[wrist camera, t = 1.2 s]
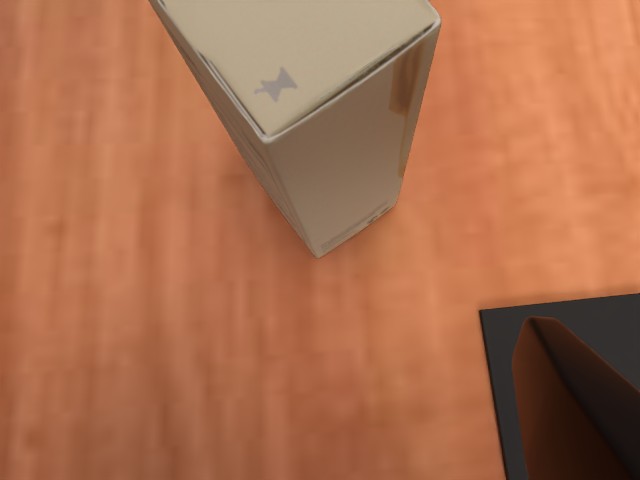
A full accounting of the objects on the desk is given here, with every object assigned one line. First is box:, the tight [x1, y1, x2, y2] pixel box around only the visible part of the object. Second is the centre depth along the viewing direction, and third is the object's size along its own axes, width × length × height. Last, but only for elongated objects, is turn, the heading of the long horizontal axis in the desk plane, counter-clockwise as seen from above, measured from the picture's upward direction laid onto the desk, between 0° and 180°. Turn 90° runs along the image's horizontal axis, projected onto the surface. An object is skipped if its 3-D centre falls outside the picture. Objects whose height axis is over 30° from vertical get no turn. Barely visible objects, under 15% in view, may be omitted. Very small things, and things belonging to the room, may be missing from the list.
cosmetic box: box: [149, 0, 441, 258], centre depth 16 cm, size 6×4×12 cm
